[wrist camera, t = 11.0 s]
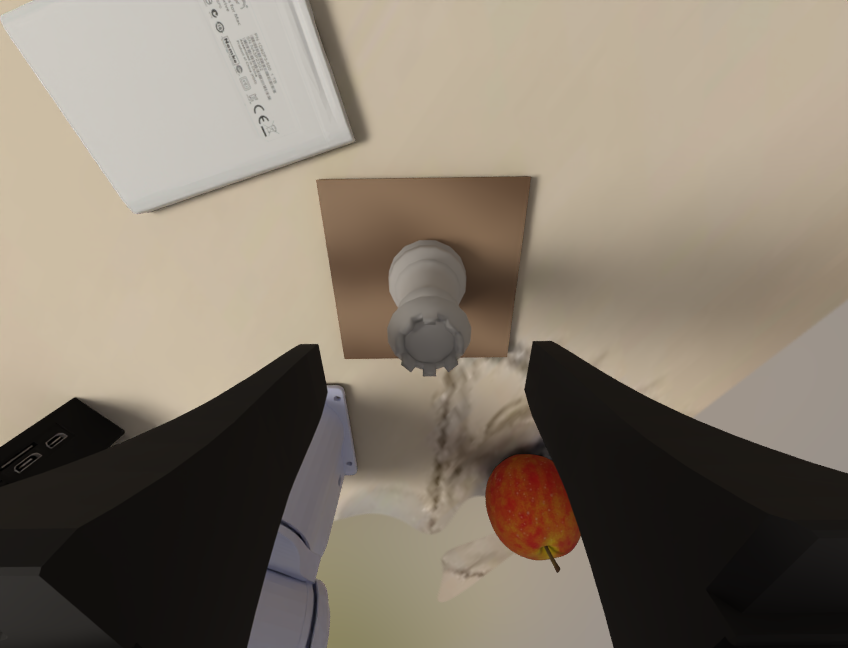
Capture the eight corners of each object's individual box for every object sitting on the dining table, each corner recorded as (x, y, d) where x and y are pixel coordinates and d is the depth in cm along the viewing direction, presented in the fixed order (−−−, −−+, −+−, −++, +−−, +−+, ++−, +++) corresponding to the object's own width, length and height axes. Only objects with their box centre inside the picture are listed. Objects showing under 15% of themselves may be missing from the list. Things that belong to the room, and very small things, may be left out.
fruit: (465, 476, 27) (479, 585, 20) (505, 424, 25) (538, 530, 17) (531, 496, 29) (566, 604, 22) (576, 448, 26) (634, 556, 19)
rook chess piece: (417, 322, 20) (414, 413, 12) (373, 266, 18) (341, 333, 11) (478, 285, 18) (513, 362, 11) (438, 221, 17) (449, 264, 10)
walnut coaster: (504, 352, 21) (506, 356, 21) (346, 354, 21) (344, 358, 21) (527, 176, 16) (531, 176, 16) (319, 179, 16) (316, 179, 16)
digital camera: (69, 483, 28) (-32, 574, 22) (5, 448, 26) (-127, 538, 20) (140, 439, 25) (48, 529, 19) (75, 396, 23) (-52, 481, 17)
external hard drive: (36, 27, 14) (284, -84, 12) (156, 211, 18) (358, 143, 16) (-9, 12, 12) (265, -117, 11) (132, 215, 16) (352, 141, 15)
